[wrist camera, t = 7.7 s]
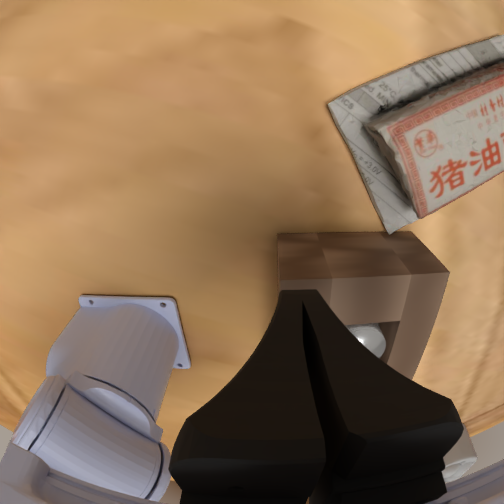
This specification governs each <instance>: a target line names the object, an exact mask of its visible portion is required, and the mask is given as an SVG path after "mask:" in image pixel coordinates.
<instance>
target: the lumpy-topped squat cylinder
mask: <svg viewBox="0 0 504 504" xmlns="http://www.w3.org/2000/svg"><path fill="white" fill-rule="evenodd" d="M462 425H463V427H464V430H463V434H462V436H461V437H460V439H459V440H458V442H457V443H456V444H455V445H454V446H453V447H452V449H451V450H450V451H449V452H448V453H447V454H446V455H445V456H444V457H443V459H444V462H445V469H444V470H443V471H442V474H443V478H444V481H445V482H451V481H454V480H457V479H459V478H461V477H462V475H463V474H464V473H465V472H466V471H467V470H468V469H469V468H470V467H471V466H472V465H473V464H474V463H475V462H476V460H477V455H476V452H475V450H474V447H473V444H472V442H471V439H470V437H469V434H468V432H467V429H466V427H465V425H464V424H463V423H462Z"/></svg>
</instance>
